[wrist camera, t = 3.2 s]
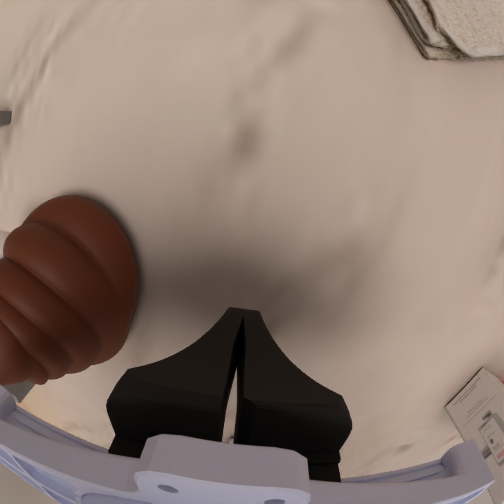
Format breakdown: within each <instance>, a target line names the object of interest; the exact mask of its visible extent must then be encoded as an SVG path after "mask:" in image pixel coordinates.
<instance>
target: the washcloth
mask: <svg viewBox="0 0 504 504" xmlns="http://www.w3.org/2000/svg"><path fill="white" fill-rule="evenodd" d="M389 1H390V2H391V4H392V6H393V7H394V9H395V10H396V12H397V13H398V15H399V16H400V18H401V19H402V21H403V22H404V24H405V26H406V27H407V29H408V30H409V32H410V34H411V36H412V37H413V39H414V41H415V42H416V44H417V45H418V47H419V48H420V50H421V51H422V53H423V54H424V55H425V56H426V57H427V58H430V59H438V60H439V59H448V60H452V61H455V60H456V59H459V60H468V61H476V60H477V61H479V60H493V59H504V0H389Z"/></svg>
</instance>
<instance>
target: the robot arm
mask: <svg viewBox="0 0 504 504" xmlns="http://www.w3.org/2000/svg"><path fill="white" fill-rule="evenodd" d="M236 368H237V414H236V423H235V431H234V438H232V439H230V440H229V443H223V442H222V436H223V428H224V421H225V414H226V408H227V403H228V399H229V395H230V392H231V388H232V384H233V380H234V376H235V372H236ZM106 408H107V413H108V416H109V418H110V421H111V424H112V427H113V429H114V432H115V434H116V435H115V438H114V440H113V442H112V444H111V446H110V448H109V449H106V448H103V447H101V446H98V445H95V444H93V443H90V442H88V441H86V440H83V439H81V438H79V437H76V436H74V435H72V434H70V433H67V432H65V431H63V430H61V429H59V428H57V427H55V426H53V425H51V424H49V423H47V422H45V421H43V420H42V419H40V418H38V417H36V416H34V415H32V414H31V413H29V412H27V411H26V410H24V409H22V408H21V407H19V406H17V405H16V402H15V400H14V398H13V396H12V395H11V393H10V392H9V391H8V390H7V389H6V388H5V387H3V386H2V385H0V462H1V463H3V464H4V465H5V466H6V467H8V468H9V469H10V470H11V471H13V472H14V473H15V474H17V475H18V476H20V477H21V478H22V479H24V480H25V481H26V482H28V483H29V484H31V485H32V486H34V487H35V488H37V489H38V490H40V491H41V492H43V493H44V494H46V495H47V496H49V497H50V498H52V499H54V500H56V501H57V502H59V503H60V504H467V503H469V502H470V501H471V500H473V499H474V498H475V497H476V496H478V495H479V494H480V493H481V492H483V491H484V490H485V489H486V488H488V487H489V486H490V485H491V484H492V483H494V481H495V479H494V477H493V475H492V473H491V471H490V469H489V467H488V465H487V463H486V461H485V459H484V457H483V455H482V453H481V451H480V449H479V448H478V446H477V444H476V442H475V440H474V439H471V440H469V441H466V442H463V443H460V444H457V445H455V446H453V447H452V448H450V449H449V450H448V451H447V452H446V453H445V454H444V455H443V456H442V458H441V459H438V460H435V461H431V462H428V463H424V464H421V465H417V466H413V467H409V468H404V469H400V470H395V471H390V472H385V473H380V474H374V475H367V476H360V477H353V478H344V479H341V478H340V472H339V467H338V463H339V462H340V460H341V458H340V453H339V450H340V449H341V447H342V446H343V444H344V443H345V441H346V440H347V438H348V436H349V435H350V432H351V430H352V420H351V417H350V413H349V410H348V408H347V406H346V404H345V401H344V399H343V397H342V396H341V395H339V394H337V393H335V392H333V391H332V390H330V389H328V388H326V387H324V386H322V385H321V384H319V383H317V382H316V381H314V380H313V379H311V378H310V377H309V376H307V375H306V374H305V373H303V372H302V371H301V370H300V369H299V368H298V367H296V366H295V365H294V364H293V363H292V362H291V361H290V360H289V359H288V358H287V357H286V356H285V354H284V353H283V352H282V351H281V349H280V348H279V347H278V345H277V344H276V342H275V341H274V339H273V338H272V336H271V334H270V333H269V331H268V329H267V327H266V325H265V323H264V321H263V319H262V316H261V313H260V312H259V311H256V310H248V309H240V308H232V307H230V308H228V309H227V311H226V312H225V313H224V315H223V316H222V317H221V318H220V320H219V321H218V322H217V323H216V324H215V325H214V326H213V327H212V328H211V329H210V330H209V331H208V332H207V333H205V334H204V335H203V336H202V337H201V338H200V339H198V340H197V341H196V342H194V343H193V344H192V345H190V346H189V347H187V348H185V349H184V350H182V351H180V352H178V353H176V354H174V355H172V356H170V357H168V358H165V359H163V360H160V361H157V362H154V363H151V364H148V365H144V366H140V367H135V368H131V369H128V370H127V371H126V372H125V374H124V375H123V376H122V377H121V378H120V380H119V381H118V383H117V384H116V386H115V387H114V389H113V391H112V393H111V394H110V396H109V398H108V400H107V403H106Z"/></svg>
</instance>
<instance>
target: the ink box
mask: <svg viewBox="0 0 504 504" xmlns="http://www.w3.org/2000/svg"><path fill="white" fill-rule="evenodd" d="M445 409H446V411H447V413H448V414H449V416H450V418H451V419H452V421H453V423H454V424H455V426H456V428H457V430H458V432H459V433H460V435H461V437H462V439H463V441H464V442H466V441H469V440H471V439H474V440H475V442H476V444H477V446H478V448H479V449H480V451H481V453H482V455H483V457H484V459H485V461H486V463H487V465H488V467H489V469H490V471H491V473H492V475H493V477H494V479H495V481H494V483H492V484H491V485H490V486H489V487H488V488H487V489H488V491H489V494H490V496H491V499H492V501H493V503H494V504H504V382H502V381H501V380H500V379H498V378H497V377H496V376H494V375H493V374H492V373H490V372H489V371H488V370H486V369H485V368H482V369H481V370H480V371H479V372H478V373H477V375H476V376H475V377H474V378H473V379H472V380H471V381H470V382H469V383H468V384H467V386H466V387H465V388H464V389H463V390H462V391H461V392H460V393H459V394H458V395H457V396H456V397H455V398H454V399H453V400H452V401H451V402H450V403H449V404H448V405H447V406H446V407H445Z"/></svg>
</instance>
